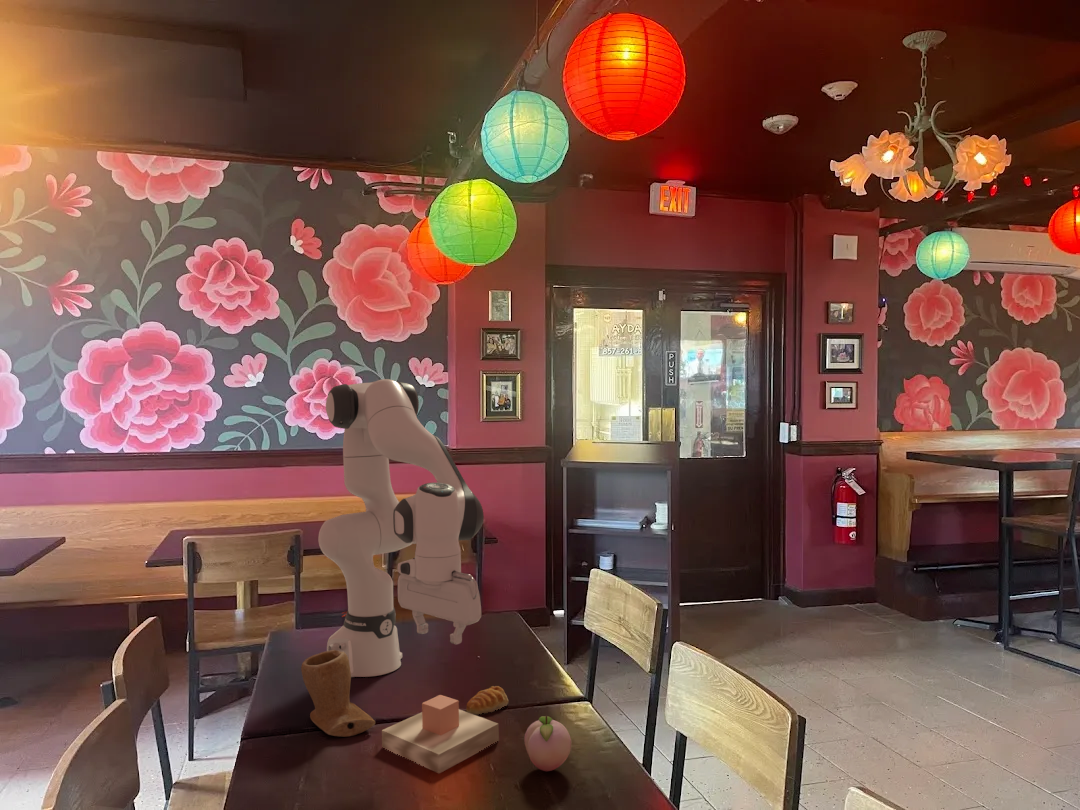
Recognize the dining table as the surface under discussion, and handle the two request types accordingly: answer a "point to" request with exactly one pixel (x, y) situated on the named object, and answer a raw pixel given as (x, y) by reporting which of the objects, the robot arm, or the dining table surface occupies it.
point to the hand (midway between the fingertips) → (439, 638)
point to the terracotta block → (440, 714)
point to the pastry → (487, 701)
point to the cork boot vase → (333, 695)
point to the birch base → (440, 741)
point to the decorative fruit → (547, 743)
